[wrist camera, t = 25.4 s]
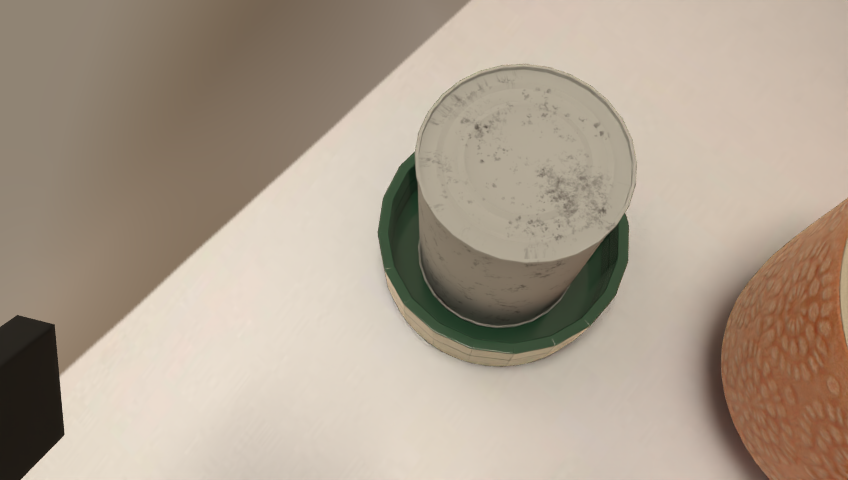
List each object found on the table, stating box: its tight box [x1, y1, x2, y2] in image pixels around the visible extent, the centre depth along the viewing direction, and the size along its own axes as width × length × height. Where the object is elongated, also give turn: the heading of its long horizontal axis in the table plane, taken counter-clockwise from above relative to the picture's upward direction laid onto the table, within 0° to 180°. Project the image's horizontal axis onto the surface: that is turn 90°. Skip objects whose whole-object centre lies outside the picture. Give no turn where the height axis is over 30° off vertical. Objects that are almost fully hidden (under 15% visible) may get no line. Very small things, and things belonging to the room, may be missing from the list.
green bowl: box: [378, 152, 629, 367], centre depth 38 cm, size 14×14×4 cm
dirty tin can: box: [415, 64, 637, 328], centre depth 34 cm, size 10×10×12 cm
